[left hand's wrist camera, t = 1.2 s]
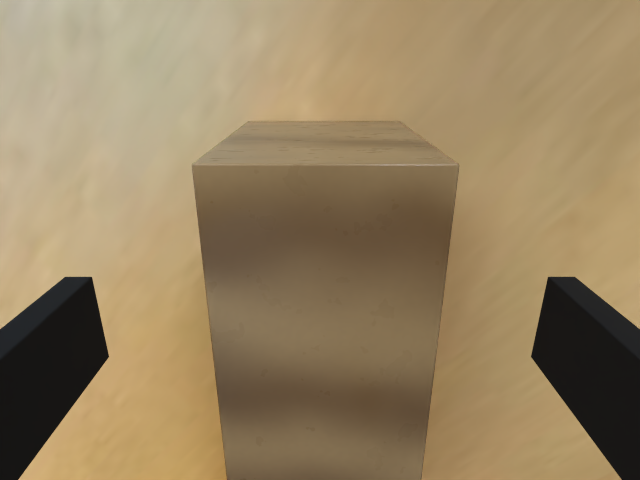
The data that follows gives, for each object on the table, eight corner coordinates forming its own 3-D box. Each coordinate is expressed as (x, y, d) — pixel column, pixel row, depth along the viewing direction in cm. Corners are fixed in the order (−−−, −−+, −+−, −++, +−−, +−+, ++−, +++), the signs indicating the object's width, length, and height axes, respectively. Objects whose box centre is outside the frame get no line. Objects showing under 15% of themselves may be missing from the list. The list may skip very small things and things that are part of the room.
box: (247, 121, 22) (190, 163, 13) (400, 121, 22) (460, 164, 13) (270, 500, 33) (249, 681, 23) (375, 501, 33) (396, 682, 23)
